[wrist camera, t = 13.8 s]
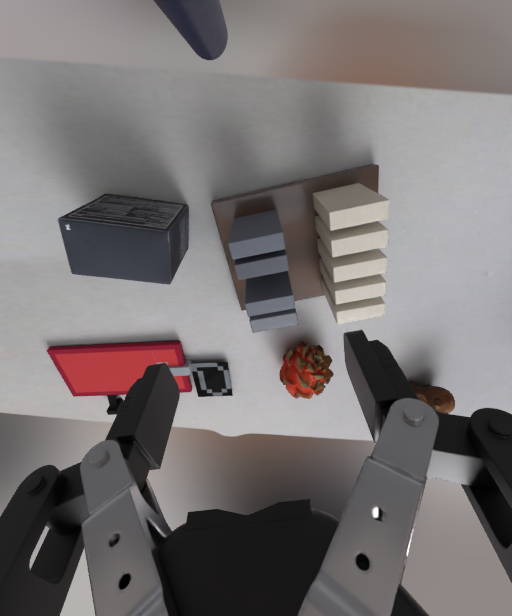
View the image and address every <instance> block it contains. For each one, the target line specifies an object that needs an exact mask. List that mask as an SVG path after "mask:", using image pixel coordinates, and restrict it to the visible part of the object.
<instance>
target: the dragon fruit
mask: <svg viewBox="0 0 512 616" xmlns="http://www.w3.org/2000/svg"><path fill="white" fill-rule="evenodd" d="M283 361H284V364H283V366H282V367H281V370H280V380H281V382H283V384H284V385H286V389H287V390H288V392H289V393H290V394H291V395H292V396H293V397H295V398H298V397H299V396H300V397H303V398H308V399H310V398H311V397H312V395H313V392H314V393H315V394H316V395H317V396H318V395H319V394H320V393H322V392H323V390H324V388H325V386H324V383H326V384H328V383H329V381H330V379H331V377H332V376H333V372H332V371H331V370H330V369H328V368H329V366H330V364H331V362H332V359H331V357H330V356H329V355H328V356H326V355H324V351H323V348H322V347H321V346H320V345H317V346H311V347H310V348H309V347H308V346H307V342H306V341H301V342H300V343H299V344H298V345H297V348H296V351H293V349H289V350H288V351H287V355H286V354H285V355H284V356H283ZM314 396H315V395H314Z"/></svg>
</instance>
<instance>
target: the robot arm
mask: <svg viewBox="0 0 512 616" xmlns="http://www.w3.org/2000/svg"><path fill="white" fill-rule="evenodd" d="M344 352H345V363H346V368H347V371H348V374H349V377H350V380H351V382H352V385H353V388H354V390H355V393H356V395H357V398H358V401H359V403H360V406H361V409H362V411H363V414H364V416H365V419H366V422H367V424H368V427H369V430H370V432H371V435H372V437H373V440H374V443H376V445H375V447H374V450H373V452H372V454H371V456H368V457H367V458H366V460H365V461H364V464H363V466H362V468H361V471H360V473H359V476H358V478H357V480H356V483H355V485H354V488H353V490H352V493H351V495H350V497H349V500H348V502H347V505H346V507H345V510H344V512H343V515H342V517H341V520H339V519H337V518H335V517H334V516H332V515H330V514H328V513H326V512H323V511H320V510H316V509H312V506H311V502H310V499H307V500H297V501H288V502H279V503H276V504H274V505H272V506H269V507H267V508H265V509H262V510H260V511H257V512H255V513H253V514H250V515H242V514H237V513H233V512H228V511H223V510H219V509H213V510H204V511H194V512H188V516H187V522H186V523H185V524H183V525H181V526H180V527H178V528H177V529H175V530H174V531H171V529H170V528H169V526H168V524H167V523H166V521H165V519H164V516H163V514H162V512H161V509H160V507H159V504H158V502H157V500H156V497H155V495H154V492H153V490H152V488H151V485H150V483H149V481H148V479H147V476H148V472H149V470H154V469H160V467H161V463H162V459H163V455H164V452H165V448H166V445H167V441H168V438H169V434H170V430H171V427H172V423H173V419H174V416H175V412H176V408H177V405H178V401H179V396H180V392H179V386H178V384H177V382H176V380H175V378H174V376H173V374H172V373H171V371H170V369H169V367H168V365H167V364H166V363H159V364H153V365H148V366H147V367H146V369H145V372H144V374H143V376H142V378H138V379H137V380H136V382H135V383H134V384H133V385H132V386H131V387H130V389H129V391H128V393H127V395H126V397H125V400H124V401H123V403H122V406H121V409H120V410H119V412H118V414H117V416H116V418H115V420H114V423H113V425H112V427H111V429H110V431H109V433H108V435H107V437H106V439H105V441H102V442H100V443H98V444H97V445H95V446H94V447H93V448H92V449H90V450H89V452H88V453H87V454H86V455H85V457H84V458H83V460H82V462H80V463H78V464H76V465H73V466H71V467H69V468H66V469H65V470H62V471H59V470H58V469H57V468H56V467H55V466H53V465H47V466H43V467H41V468H39V469H37V470H35V471H34V472H33V473H31V474H30V475H29V476H28V477H27V478H26V479H25V480H24V481H23V482H22V483H21V484H20V486H19V487H18V489H17V490H16V492H15V494H14V495H13V497H12V499H11V500H10V502H9V503H8V505H7V507H6V509H5V510H4V512H3V513H2V515H1V517H0V616H60V613H61V610H62V607H63V605H64V602H65V599H66V596H67V594H68V591H69V588H70V585H71V582H72V580H73V577H74V574H75V571H76V569H77V566H78V563H79V560H80V557H81V555H82V552H83V549H84V547H85V553H86V560H87V565H88V572H89V578H90V584H91V591H92V597H93V602H94V609H95V615H96V616H429V615H428V614H427V613H426V612H425V611H424V610H423V608H422V607H421V606H420V605H419V604H418V603H417V602H416V600H415V599H414V598H413V597H412V596H411V595H410V594H409V593H408V592H407V591H406V589H405V588H404V587H403V586H402V585H401V582H402V578H403V574H404V570H405V566H406V562H407V558H408V554H409V550H410V546H411V541H412V537H413V533H414V529H415V524H416V520H417V516H418V512H419V508H420V504H421V500H422V496H423V492H424V488H425V484H426V480H427V477H432V478H436V479H441V480H446V481H450V482H455V483H459V484H461V485H462V487H463V489H464V491H465V493H466V495H467V497H468V499H469V501H470V502H471V505H472V507H473V509H474V510H475V512H476V514H477V516H478V518H479V520H480V522H481V524H482V526H483V528H484V530H485V532H486V534H487V536H488V538H489V540H490V542H491V543H492V546H493V547H494V549H495V551H496V553H497V555H498V557H499V559H500V561H501V563H502V565H503V567H504V569H505V571H506V573H507V575H508V576H509V579H510V580H511V582H512V414H510V413H507V412H505V411H502V410H499V409H493V408H483V409H479V410H477V411H475V412H474V413H473V414H472V415H471V417H464V416H457V415H450V414H444V413H441V412H438V411H435V410H434V409H433V408H432V407H430V406H429V405H428V404H426V403H424V402H423V401H421V400H420V399H419V398H418V397H417V395H416V393H415V392H414V390H413V388H412V387H411V385H410V383H409V382H408V380H407V378H406V377H405V375H404V373H403V372H402V370H401V368H400V367H399V366H398V364H397V362H396V360H395V359H394V357H393V355H392V354H391V352H390V350H389V349H388V347H387V346H385V345H384V344H382V343H381V342H380V341H378V340H374V341H368V340H367V338H366V336H365V334H364V332H363V331H362V330H359V331H353V332H347V333H344ZM45 526H47V527H49V528H50V529H49V531H48V533H47V535H46V537H45V540H44V542H43V544H42V546H41V548H40V550H39V553H38V555H37V557H36V559H35V561H34V563H33V566H32V568H31V570H30V568H29V563H30V558H31V555H32V553H33V551H34V549H35V547H36V545H37V543H38V540H39V538H40V536H41V534H42V532H43V530H44V528H45Z"/></svg>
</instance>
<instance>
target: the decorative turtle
mask: <svg viewBox="0 0 512 616" xmlns="http://www.w3.org/2000/svg"><path fill="white" fill-rule="evenodd" d="M409 383H410V385H411V387H412V388H413V390H414V392H415V393H416V395H417V397H418V398H419V399H420V400H421V401H423V402H424V403H426V404H428V405H429V406H430V407H432V408H433V409H434V410H435V411H438V412H441V413H444V414H448V413H449V412H451V411H452V410H453V409H454V407H455V401H454V397H453V396H452V394H451V393H450V392H449V391H448V390H446V389H444V388H441V387H436V386H426V387H421V386H418V385H416V384H413V383H411V382H409Z"/></svg>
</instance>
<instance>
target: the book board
mask: <svg viewBox="0 0 512 616" xmlns="http://www.w3.org/2000/svg"><path fill="white" fill-rule="evenodd" d="M378 172H379V166H378V165H376V164H371V165H367V166H363V167H358V168H354V169H350V170H345V171H341V172H337V173H332V174H328V175H323V176H319V177H315V178H310V179H306V180H302V181H297V182H293V183H289V184H284V185H280V186H276V187H271V188H267V189H262V190H258V191H254V192H249V193H245V194H241V195H236V196H232V197H228V198H223V199H219V200H214V201H212V203H211V206H212V209H213V213H214V216H215V220H216V223H217V227H218V230H219V234H220V237H221V241H222V244H223V247H224V251H225V254H226V258H227V261H228V265H229V268H230V272H231V275H232V279H233V282H234V285H235V289H236V292H237V296H238V299H239V303H240V306H241V310H246V307H245V290H246V279H243V280H238V278H237V274H236V271H235V267H234V263H235V259H234V260H233V259H232V256H231V253H230V249H229V245H228V242H229V237H230V233H231V228H232V224H233V219H234V218H238V217H243V216H247V215H252V214H256V213H261V212H265V211H270V210H274V209H277V212H278V216H279V220H280V223H281V227H282V231H283V236H284V242H285V250H286V254H287V260H288V266H289V271H288V274H289V279H290V283H291V287H292V292H293V296H294V301H297V300H302V299H308V298H313V297H318V296H324V295H325V294H324V291H323V289H322V283H321V277H323V275H322V273H321V271H320V264H319V259H321V256H320V254H319V252H318V244H317V239H319V238H321V237H320V236H319V234H318V232H317V231H316V224H315V216H319V214H318V213H317V211H316V210H315V209H314V204H313V193H316V192H320V191H325V190H329V189H334V188H338V187H343V186H347V185H352V184H356V183H360V184H362V185H363V186H365V187H367V188H369V189H371V190H373V191H374V192H376V193H378Z"/></svg>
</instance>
